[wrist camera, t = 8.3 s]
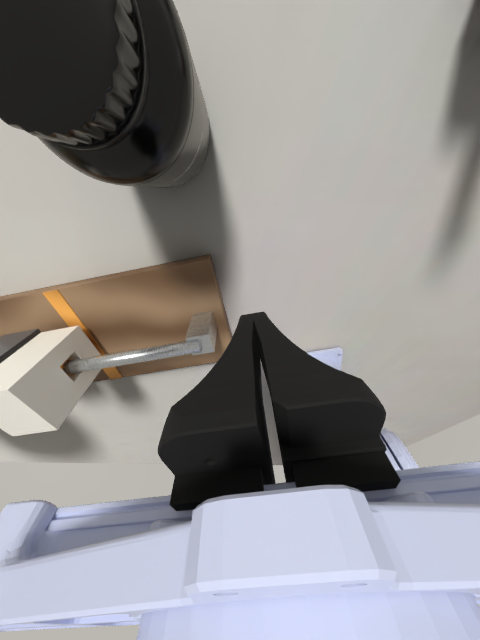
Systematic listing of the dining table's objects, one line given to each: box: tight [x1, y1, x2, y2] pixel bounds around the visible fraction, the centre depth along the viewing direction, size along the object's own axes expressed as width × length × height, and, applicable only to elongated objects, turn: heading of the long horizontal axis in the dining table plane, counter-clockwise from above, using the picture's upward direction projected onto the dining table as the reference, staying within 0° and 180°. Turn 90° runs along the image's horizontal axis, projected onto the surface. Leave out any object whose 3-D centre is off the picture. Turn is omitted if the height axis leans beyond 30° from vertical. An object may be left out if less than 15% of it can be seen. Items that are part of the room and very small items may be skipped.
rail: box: [60, 310, 217, 375], centre depth 20 cm, size 2×20×5 cm, turn 101°
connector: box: [0, 329, 41, 363], centre depth 20 cm, size 5×4×6 cm
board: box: [0, 254, 232, 382], centre depth 23 cm, size 12×24×2 cm, turn 101°
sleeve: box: [0, 326, 101, 436], centre depth 18 cm, size 5×4×8 cm
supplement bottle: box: [0, 0, 209, 187], centre depth 9 cm, size 7×7×12 cm
